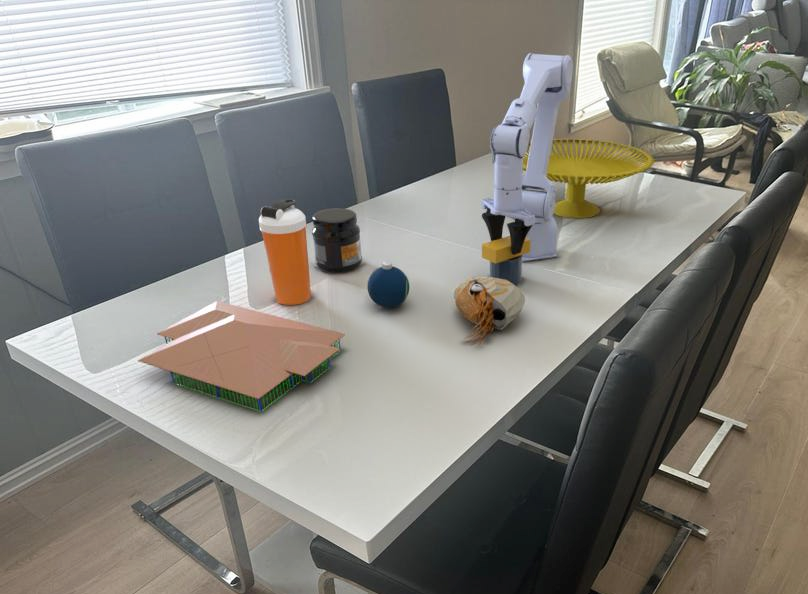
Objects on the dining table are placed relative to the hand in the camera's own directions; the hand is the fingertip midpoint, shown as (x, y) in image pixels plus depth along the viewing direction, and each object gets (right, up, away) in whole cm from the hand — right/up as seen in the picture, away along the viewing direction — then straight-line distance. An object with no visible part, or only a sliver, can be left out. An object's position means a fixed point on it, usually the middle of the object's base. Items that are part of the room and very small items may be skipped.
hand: (506, 248), depth 148 cm
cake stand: (+21, +18, +45) cm, 53 cm away
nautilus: (-5, -17, -14) cm, 23 cm away
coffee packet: (0, -1, +1) cm, 1 cm away
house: (-47, -24, -27) cm, 59 cm away
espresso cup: (0, -6, +4) cm, 7 cm away
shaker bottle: (-44, -11, -5) cm, 46 cm away
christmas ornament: (-24, -13, -7) cm, 28 cm away
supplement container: (-38, -2, +10) cm, 39 cm away
